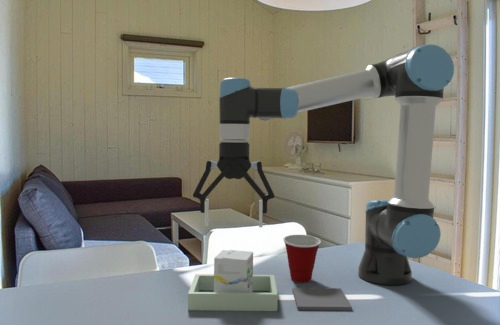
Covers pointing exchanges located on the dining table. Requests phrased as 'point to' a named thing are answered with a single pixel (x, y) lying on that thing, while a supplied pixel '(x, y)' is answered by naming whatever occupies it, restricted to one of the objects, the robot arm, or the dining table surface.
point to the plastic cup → (301, 256)
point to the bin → (233, 295)
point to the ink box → (233, 271)
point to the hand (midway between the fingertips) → (233, 226)
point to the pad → (320, 299)
